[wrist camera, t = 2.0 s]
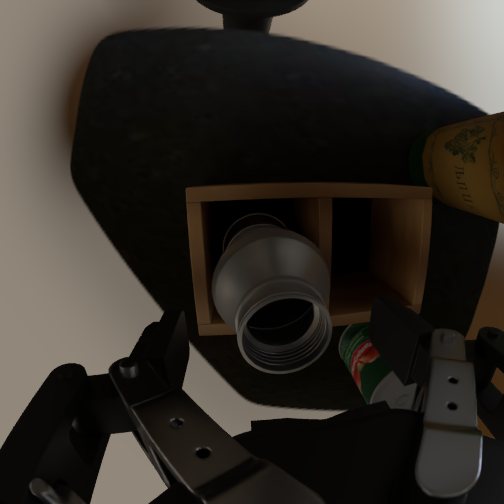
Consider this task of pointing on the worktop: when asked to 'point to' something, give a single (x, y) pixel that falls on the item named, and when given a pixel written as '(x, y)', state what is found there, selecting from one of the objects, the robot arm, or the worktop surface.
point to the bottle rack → (326, 243)
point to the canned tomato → (372, 369)
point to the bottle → (463, 165)
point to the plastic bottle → (272, 292)
